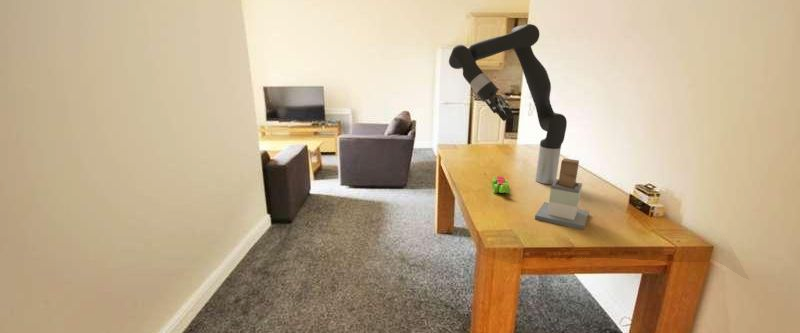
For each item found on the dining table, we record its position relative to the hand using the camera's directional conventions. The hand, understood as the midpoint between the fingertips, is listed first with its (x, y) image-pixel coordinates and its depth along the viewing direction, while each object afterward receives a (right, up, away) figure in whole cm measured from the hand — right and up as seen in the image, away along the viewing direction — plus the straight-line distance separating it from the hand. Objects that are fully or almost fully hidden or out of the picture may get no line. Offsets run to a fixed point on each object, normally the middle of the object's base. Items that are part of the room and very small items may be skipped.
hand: (509, 118), depth 141 cm
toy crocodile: (+2, -30, +20) cm, 36 cm away
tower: (+17, -38, -8) cm, 42 cm away
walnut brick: (+17, -27, -12) cm, 34 cm away
